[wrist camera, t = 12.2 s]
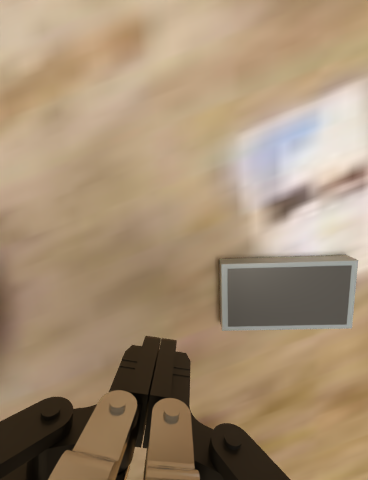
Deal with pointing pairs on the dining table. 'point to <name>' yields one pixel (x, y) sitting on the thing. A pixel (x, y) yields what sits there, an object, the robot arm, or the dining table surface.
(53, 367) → the dining table surface
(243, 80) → the dining table surface
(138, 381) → the robot arm
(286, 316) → the phone
